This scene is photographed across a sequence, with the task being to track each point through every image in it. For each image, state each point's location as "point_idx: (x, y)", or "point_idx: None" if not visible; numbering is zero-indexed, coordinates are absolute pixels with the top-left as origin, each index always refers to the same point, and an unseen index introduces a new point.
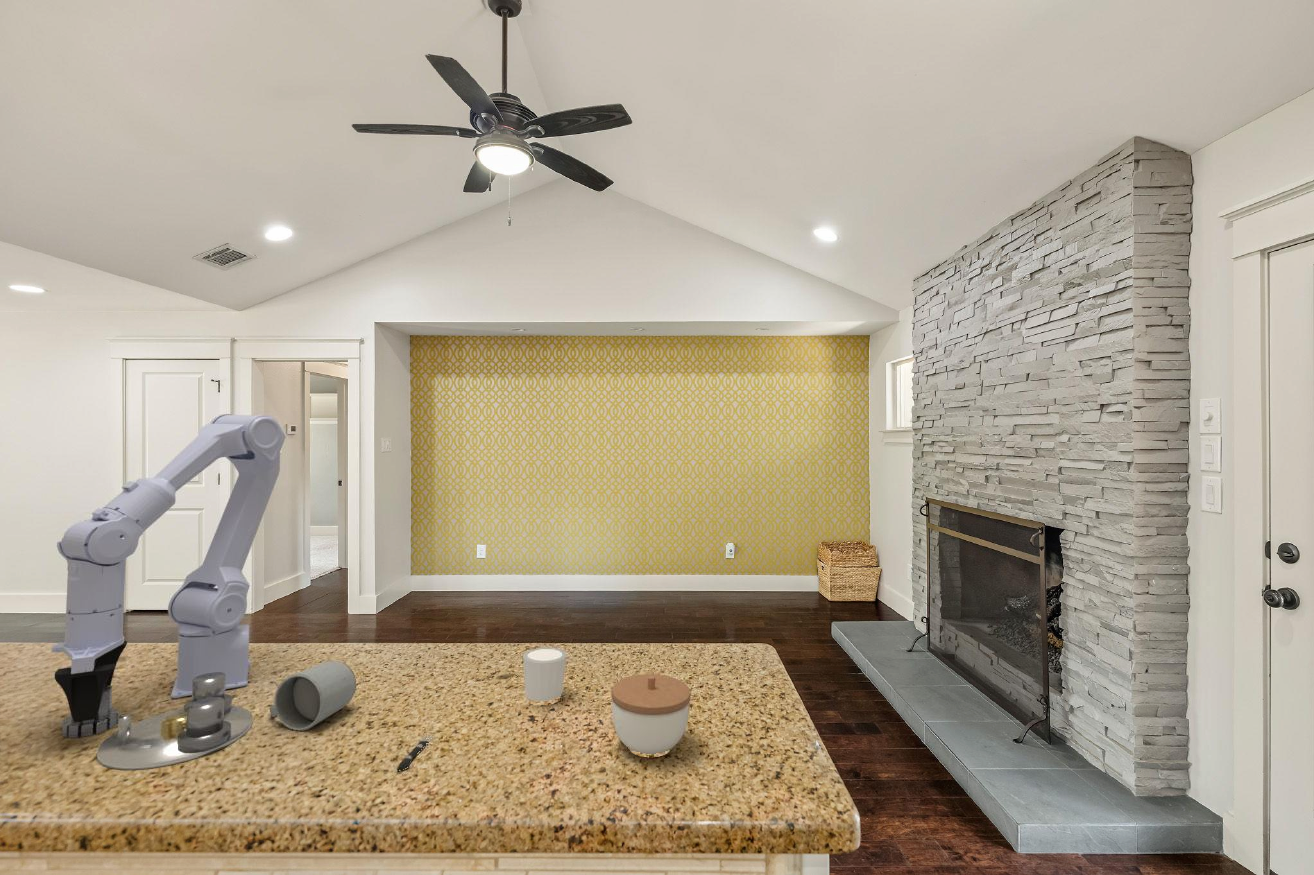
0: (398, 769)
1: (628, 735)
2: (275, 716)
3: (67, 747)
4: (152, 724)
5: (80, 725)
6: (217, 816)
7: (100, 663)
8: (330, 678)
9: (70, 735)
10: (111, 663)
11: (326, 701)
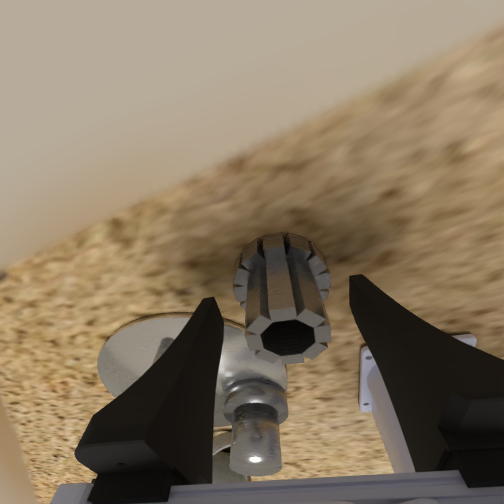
0: (91, 481)
1: None
2: None
3: (194, 266)
4: (234, 355)
5: (238, 284)
6: (14, 422)
7: (399, 387)
8: None
9: (238, 258)
10: (394, 397)
11: None
